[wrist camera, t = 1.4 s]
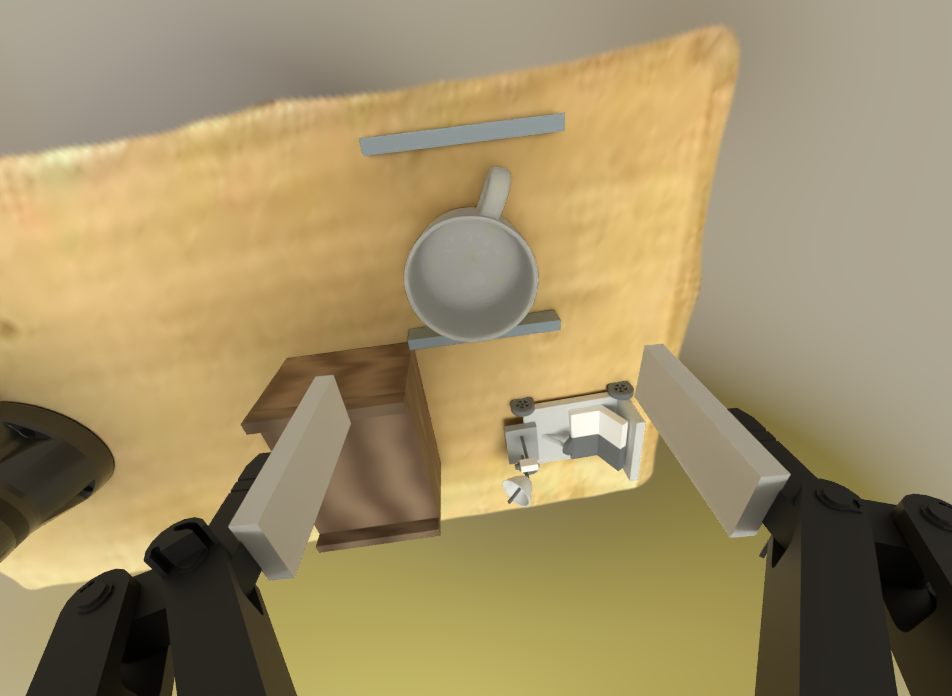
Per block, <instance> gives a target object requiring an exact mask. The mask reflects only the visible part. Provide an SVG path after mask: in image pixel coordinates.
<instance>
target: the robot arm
mask: <svg viewBox="0 0 952 696" xmlns="http://www.w3.org/2000/svg"><path fill="white" fill-rule="evenodd" d="M635 398H636V399H637V401H638V402H639V404H640V405H641V407H642V408H643V410H644V411H645V413H646V414H647V416H648V417H649V419H650V420H651V422H652V423H653V425H654V426H655V428H656V429H657V431H658V432H659V433H660V435H661V436H662V438H663V439H664V441H665V442H666V444H667V445H668V447H669V448H670V450H671V451H672V452H673V454H674V456H675V457H676V458H677V460H678V461H679V463H680V465H681V466H682V467H683V469H684V470H685V472H686V473H687V475H688V476H689V478H690V479H691V481H692V482H693V484H694V485H695V487H696V488H697V490H698V491H699V493H700V494H701V496H702V497H703V498H704V500H705V501H706V503H707V504H708V506H709V507H710V509H711V510H712V512H713V513H714V515H715V516H716V518H717V519H718V521H719V522H720V524H721V525H722V527H723V528H724V530H725V531H726V533H727V534H728V536H729V537H730V538H732V537H743V536H754V535H756V534H757V532H758V530H759V528H760V527H761V525H762V523H763V524H764V525H765V527H766V528H767V529H768V530H769V532H770V533H771V534H772V535H771V536H770V538H769V540H768V541H767V543H766V545H765V546H764V548H763V549H762V551H761V553H760V555H759V556H760V557H762V558H764V557H765V555H766V554H767V560H766V571H765V583H764V594H763V606H762V607H763V608H762V618H761V629H760V641H759V652H758V664H757V676H756V687H755V696H898V693H897V687H896V682H895V674H894V667H893V661H892V654H891V651H892V653H893V655H894V658H895V660H896V662H897V665H898V667H899V669H900V672H901V674H902V676H903V679H904V681H905V683H906V686H907V688H908V690H909V693H910V695H911V696H952V505H951V504H949V503H946V502H945V501H942V500H940V499H937V498H934V497H930V496H927V495H920V494H911V495H906V496H905V497H904V498H903V499H902V500H901V501H900V502H899V504H898V505H893V504H887V503H881V502H876V501H870V500H864V499H861V498H860V497H859V496H858V495H856V494H855V493H853V492H852V491H850V490H849V489H847V488H846V487H844V486H842V485H839V484H837V483H835V482H832V481H828V480H824V479H818V478H817V477H815V476H814V475H813V474H812V473H811V472H810V471H809V470H808V469H807V468H806V467H805V466H804V465H803V464H802V463H801V462H800V461H799V460H798V459H797V458H796V457H795V456H793V455H792V454H791V453H790V452H789V451H788V450H787V449H786V448H785V447H784V446H783V445H782V444H781V443H780V442H779V441H776V438H775V437H774V436H773V435H772V434H770V433H769V432H768V431H766V429H765V428H764V427H763V426H762V425H761V424H760V423H759V422H758V421H757V420H756V419H755V418H754V417H752V416H750V415H749V414H747V413H745V412H743V411H742V410H740V409H738V408H731V409H726V408H725V407H724V406H723V405H722V404H721V403H720V402H719V401H718V400H717V399H716V398H715V397H714V396H713V395H712V393H710V392H709V391H708V389H707V388H706V387H705V386H704V385H703V384H702V383H701V382H700V381H699V380H698V379H697V378H696V377H695V376H694V375H693V374H692V373H691V372H690V371H689V370H688V369H687V368H686V367H685V366H684V365H683V364H682V363H681V362H680V361H679V360H678V359H677V358H676V357H675V356H674V355H673V354H672V353H671V352H670V351H669V350H668V349H667V348H666V347H665V346H664V345H663V344H656V345H645V346H644V351H643V357H642V362H641V367H640V372H639V377H638V382H637V387H636V392H635ZM350 425H351V422H350V419H349V417H348V414H347V411H346V408H345V405H344V403H343V400H342V397H341V394H340V392H339V389H338V386H337V383H336V380H335V378H334V375H327V376H317V377H315V378H314V380H313V382H312V383H311V385H310V387H309V388H308V390H307V392H306V394H305V395H304V397H303V399H302V401H301V402H300V404H299V406H298V407H297V409H296V411H295V413H294V414H293V416H292V418H291V419H290V421H289V423H288V425H287V426H286V428H285V430H284V431H283V433H282V435H281V437H280V438H279V440H278V442H277V443H276V445H275V447H274V449H273V450H272V452H270V453H260V454H259V455H258V456H257V457H255V458H254V459H253V460H252V461H251V462H250V463H249V464H248V465H247V466H246V467H245V469H244V471H243V472H242V474H241V475H240V477H239V478H238V482H236V483H235V485H234V486H233V488H232V489H231V493H229V494H228V496H227V497H226V499H225V501H224V502H223V504H222V505H221V507H220V508H219V510H218V512H217V513H216V515H215V516H214V518H213V519H212V521H211V523H210V524H209V526H208V525H207V524H206V523H205V522H204V520H203V519H200V518H196V517H194V518H188V519H184V520H182V521H179V522H177V523H175V524H173V525H171V526H170V527H169V528H167V529H166V530H164V531H163V532H161V533H160V534H159V535H158V536H157V537H156V538H155V539H154V540H153V541H152V543H151V544H150V546H149V547H148V549H147V550H146V552H145V557H144V562H145V563H146V564H147V565H148V566H149V567H151V568H152V570H150V571H147V572H144V573H142V574H139V575H137V576H134V577H132V576H131V575H130V574H129V573H128V572H127V571H125V570H124V569H114V570H110V571H107V572H104V573H102V574H100V575H99V576H97V577H95V578H93V579H91V580H90V581H89V582H87V583H86V584H85V585H83V586H82V587H81V588H80V589H78V590H77V591H76V592H75V594H74V595H73V596H72V597H71V598H70V599H69V600H68V601H67V603H66V604H65V606H64V608H63V609H62V611H61V612H60V615H59V617H58V620H57V622H56V624H55V627H54V629H53V632H52V634H51V636H50V639H49V641H48V644H47V646H46V648H45V651H44V653H43V656H42V658H41V660H40V663H39V665H38V668H37V670H36V672H35V675H34V677H33V680H32V682H31V684H30V687H29V689H28V692H27V694H26V696H172V690H173V684H174V677H175V682H176V690H177V696H297V694H296V691H295V689H294V686H293V683H292V680H291V677H290V674H289V672H288V669H287V666H286V663H285V660H284V658H283V655H282V652H281V649H280V646H279V643H278V641H277V638H276V635H275V632H274V629H273V627H272V624H271V621H270V618H269V615H268V613H267V610H266V607H265V604H264V601H263V598H262V596H261V593H260V590H259V588H258V587H257V586H256V582H257V579H258V577H259V575H260V573H261V570H262V572H263V573H264V574H265V576H266V577H267V578H268V580H279V579H290V578H295V575H296V572H297V570H298V567H299V564H300V562H301V559H302V555H303V553H304V551H305V548H306V545H307V542H308V540H309V537H310V534H311V531H312V529H313V526H314V523H315V520H316V518H317V515H318V512H319V509H320V507H321V504H322V501H323V499H324V496H325V493H326V490H327V488H328V485H329V482H330V479H331V477H332V474H333V471H334V468H335V466H336V463H337V460H338V457H339V455H340V452H341V449H342V446H343V444H344V441H345V438H346V436H347V433H348V430H349V427H350ZM113 469H114V463H113V459H112V456H111V454H110V452H109V451H108V449H107V448H106V446H105V445H104V444H103V443H102V442H101V441H100V440H99V439H98V438H97V437H96V436H95V435H94V434H92V433H91V432H90V431H89V430H87V429H86V428H84V427H83V426H81V425H79V424H78V423H76V422H74V421H72V420H70V419H68V418H66V417H64V416H62V415H59V414H57V413H54V412H51V411H49V410H45V409H42V408H38V407H35V406H30V405H25V404H19V403H9V402H0V563H1V562H2V561H3V560H4V559H5V558H6V557H7V556H8V555H9V554H10V553H11V552H12V551H13V550H14V549H15V548H16V547H17V546H18V545H19V544H20V543H21V542H22V541H23V540H24V539H26V538H27V537H28V536H29V535H30V534H31V533H32V532H33V531H35V530H36V529H38V528H40V527H41V526H43V525H45V524H46V523H48V522H50V521H51V520H53V519H55V518H56V517H58V516H60V515H61V514H63V513H65V512H66V511H68V510H70V509H71V508H73V507H75V506H76V505H78V504H80V503H81V502H83V501H85V500H86V499H88V498H89V497H91V496H92V495H93V494H95V493H96V492H97V491H98V490H99V489H100V488H101V487H102V486H103V485H104V484H105V483H106V482H107V481H108V479H109V478H110V477H111V475H112V473H113Z"/></svg>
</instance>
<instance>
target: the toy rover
mask: <svg viewBox="0 0 952 696" xmlns="http://www.w3.org/2000/svg"><path fill="white" fill-rule="evenodd" d="M633 391H634V388H633V386H632V385H631V384H630V383H628V382H625V381H622V382H618V383H610V384H609V385H608V392H604V393H598V394H592V395H586V396H580V397H574V398H568V399H562V400H556V401H550V402H544V403H538V404H534V401H533V400H532V399H531V398H529V397H526V398H522V399H514V400H512V402H511V404H510V406H511V411H512V413H513V414H514V415H516V416H519V417H522V418H523V423H522V424H516V425H510V426H504V431H505V437H506V444H507V451H508V458H509V463H510V464H515V463H518V464H515V468H516V470H520V471H521V472H522V473H524V474H525V476H515V477H512V478H509V479H507V480H505V481H503V483H502V486H503V489H504V491H505V492H506V494H507V495H508V496H509V497H510V499H509V500H508V503H509V504H510V503H511V502H512V501H514V502H515V503H517V504H518V505H520V506H523V507H528V506H529V505H530V502H531V496H532V484H531V481H530V479H529V475H530V474H534V473H536V472H537V471H538V470H539V463H546V462H552V461H558V460H564V459H570V458H571V459H576V458H582V457H588V456H594V455H598V456H599V457H601V458H602V459H603V460H604V461H606V462H607V463H608V464H610V465H611V466H612V467H614V468H615V469H616V470H617V471H619V470H620V469H622V468H623V470H624V471H625V473H626V475H627V477H628V479H629V481H634V480H638V473H639V466H640V459H641V452H642V444H643V437H644V430H645V423H646V422H645V420H644V419H643V418H642V416H641V415H640V413H639V412H638V411H637V409H636V408H635V406H634V405H633V404H632V402H631V401H630V398H631V397H632V396H633Z"/></svg>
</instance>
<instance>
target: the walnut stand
mask: <svg viewBox="0 0 952 696" xmlns="http://www.w3.org/2000/svg"><path fill="white" fill-rule="evenodd" d="M327 375H334V378H335V380H336V383H337V386H338V389H339V392H340V394H341V397H342V400H343V403H344V405H345V408H346V411H347V414H348V417H349V419H350V422H351V425H350V427H349V430H348V433H347V436H346V438H345V441H344V444H343V446H342V449H341V452H340V455H339V457H338V460H337V463H336V466H335V468H334V471H333V474H332V477H331V479H330V482H329V485H328V488H327V490H326V493H325V496H324V499H323V501H322V504H321V507H320V509H319V512H318V515H317V518H316V520H315V523H314V525H315V527H316V528H317V530H318V532H319V534H320V535H319V538H318V542H317V545H316V548H317V550H318V551H319V552H320V553H321V552H327V551H335V550H342V549H348V548H356V547H363V546H370V545H377V544H384V543H391V542H398V541H405V540H412V539H419V538H427V537H434V536H440V516H441V462H440V458H439V454H438V449H437V445H436V441H435V436H434V432H433V428H432V424H431V419H430V415H429V411H428V406H427V402H426V398H425V394H424V389H423V385H422V381H421V377H420V372H419V368H418V364H417V359H416V355H415V351H414V350H410V349H409V345H408V342H407V343H399V344H392V345H384V346H377V347H369V348H362V349H354V350H347V351H339V352H332V353H324V354H317V355H309V356H302V357H294V358H287V359H286V361H285V362H284V364H283V365H282V366H281V368H280V369H279V371H278V372H277V373H276V375H275V376H274V378H273V379H272V381H271V382H270V383H269V385H268V386H267V388H266V389H265V391H264V392H263V393H262V395H261V396H260V398H259V399H258V401H257V402H256V403H255V405H254V406H253V408H252V409H251V411H250V412H249V413H248V415H247V416H246V418H245V419H244V420H243V422H242V423H241V426H242V427H243V429H244V431H245V432H246V434H247V435H248V434H255V433H261V434H262V436H263V438H264V439H265V441H266V443H267V445H268V446H269V448H270V450H271V451H272V450H273V449H274V447H275V445H276V443H277V442H278V440H279V438H280V437H281V435H282V433H283V431H284V430H285V428H286V426H287V425H288V423H289V421H290V419H291V418H292V416H293V414H294V413H295V411H296V409H297V407H298V406H299V404H300V402H301V401H302V399H303V397H304V395H305V394H306V392H307V390H308V388H309V387H310V385H311V383H312V382H313V380H314V378H315V377H317V376H327Z"/></svg>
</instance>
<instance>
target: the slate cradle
mask: <svg viewBox="0 0 952 696" xmlns="http://www.w3.org/2000/svg"><path fill="white" fill-rule="evenodd" d="M560 131H565V113H559V114H551V115H543V116H535V117H527V118H519V119H511V120H503V121H495V122H487V123H479V124H471V125H463V126H455V127H447V128H439V129H432V130H424V131H416V132H408V133H400V134H392V135H384V136H376V137H368V138H360V139H359V142H360V146H361V150H362V154H363V156H370V155H377V154H385V153H393V152H401V151H409V150H417V149H425V148H433V147H441V146H449V145H457V144H465V143H472V142H480V141H488V140H496V139H504V138H512V137H520V136H528V135H536V134H544V133H552V132H560ZM558 330H561V320H560V318H559V316H558V315H557V313H556V312H555V310H549V311H542V312H534V313H528V314H527V315H526V316H525V318H524V319H523V320H522V321H521V322H520V323H519V324H518V325H517V326H516V327H514V328H513V329H512V330H510V331H509V332H507V333H505V334H503V335H501V336H500V337H497V338H494V339H498V338H505V337H513V336H520V335H528V334H535V333H543V332H550V331H558ZM407 341H408V345H409V349H410V350H416V349H423V348H431V347H438V346H446V345H453V344H461V343H468V342H462V341H457V340H452V339H449V338H447V337H445V336H442V335H440V334H438V333H437V332H435V331H433V330H432V329H430V328H429V327H422V328H414V329H409V335H408V340H407Z"/></svg>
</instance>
